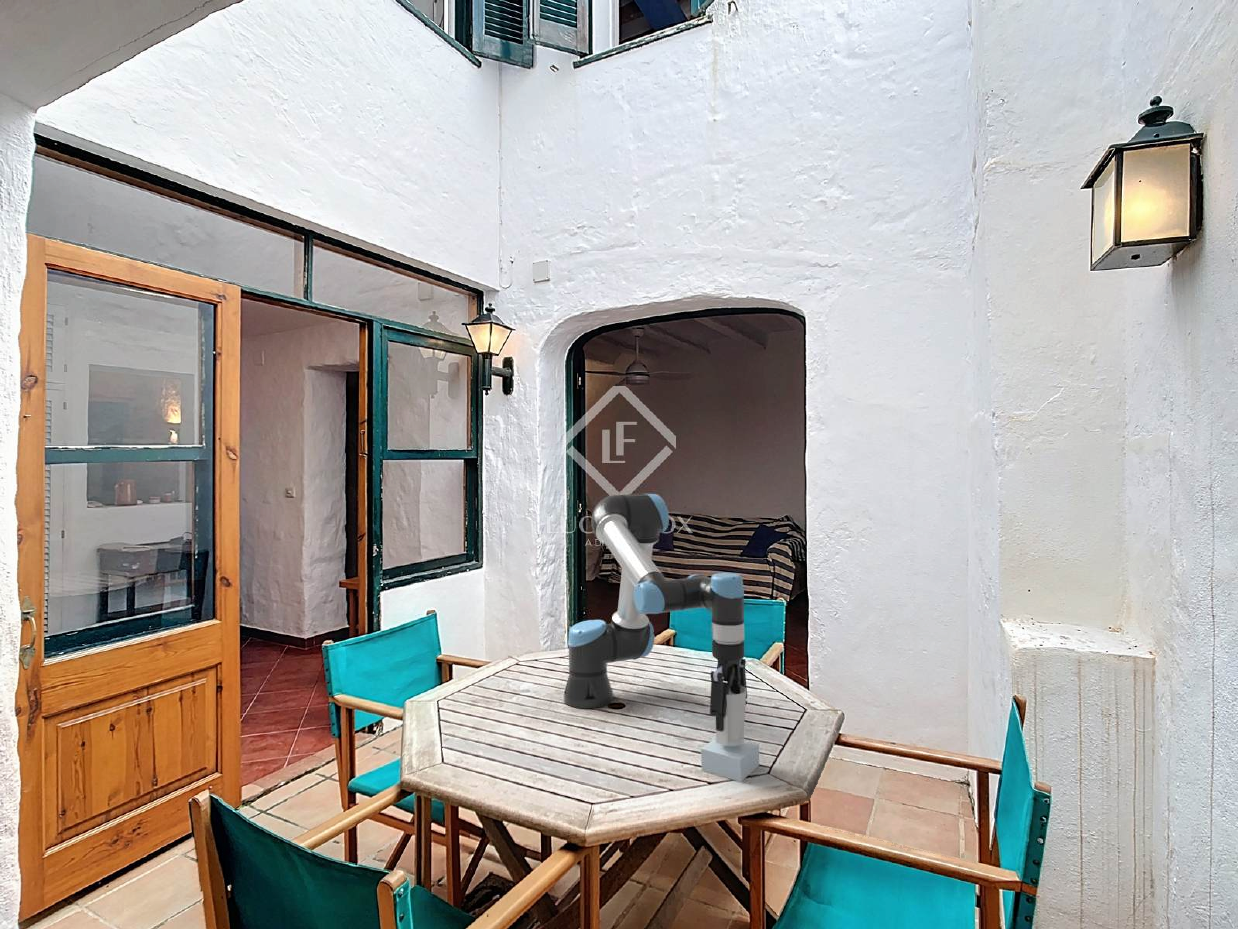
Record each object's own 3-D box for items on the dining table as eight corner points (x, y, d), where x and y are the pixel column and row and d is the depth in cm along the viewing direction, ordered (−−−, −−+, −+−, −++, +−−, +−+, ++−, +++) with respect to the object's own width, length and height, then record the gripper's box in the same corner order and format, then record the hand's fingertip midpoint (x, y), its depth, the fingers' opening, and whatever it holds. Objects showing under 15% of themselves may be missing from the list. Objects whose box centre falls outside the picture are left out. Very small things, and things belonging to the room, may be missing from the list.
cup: (706, 736, 153) (705, 686, 153) (735, 731, 156) (735, 681, 156) (723, 750, 145) (722, 697, 145) (753, 744, 148) (753, 692, 148)
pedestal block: (721, 754, 157) (720, 734, 157) (759, 765, 151) (758, 743, 151) (701, 770, 149) (701, 748, 149) (740, 782, 143) (740, 759, 143)
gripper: (732, 628, 161) (734, 720, 161) (692, 647, 145) (694, 749, 144) (760, 633, 156) (762, 726, 156) (722, 653, 140) (724, 757, 140)
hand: (729, 737), depth 150 cm, fingers closed on cup, 7 cm apart
